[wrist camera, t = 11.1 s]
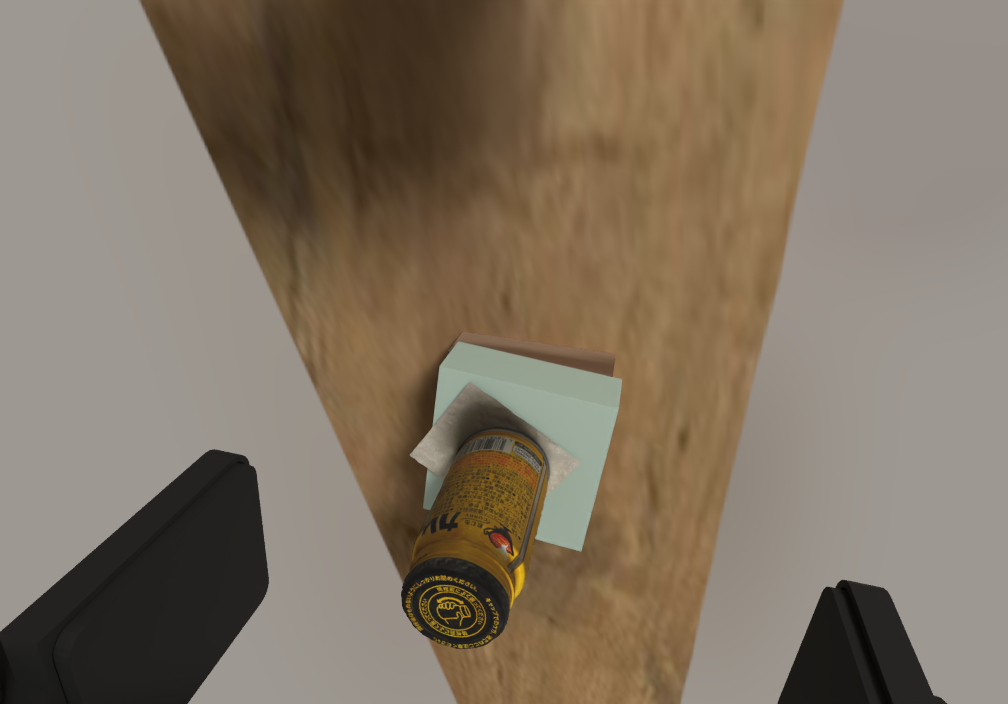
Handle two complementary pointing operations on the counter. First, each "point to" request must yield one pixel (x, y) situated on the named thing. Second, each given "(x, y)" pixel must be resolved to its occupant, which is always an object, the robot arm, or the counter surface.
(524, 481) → the condiment
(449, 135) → the counter surface
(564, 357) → the bottom block
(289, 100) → the counter surface
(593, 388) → the top block
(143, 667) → the robot arm
